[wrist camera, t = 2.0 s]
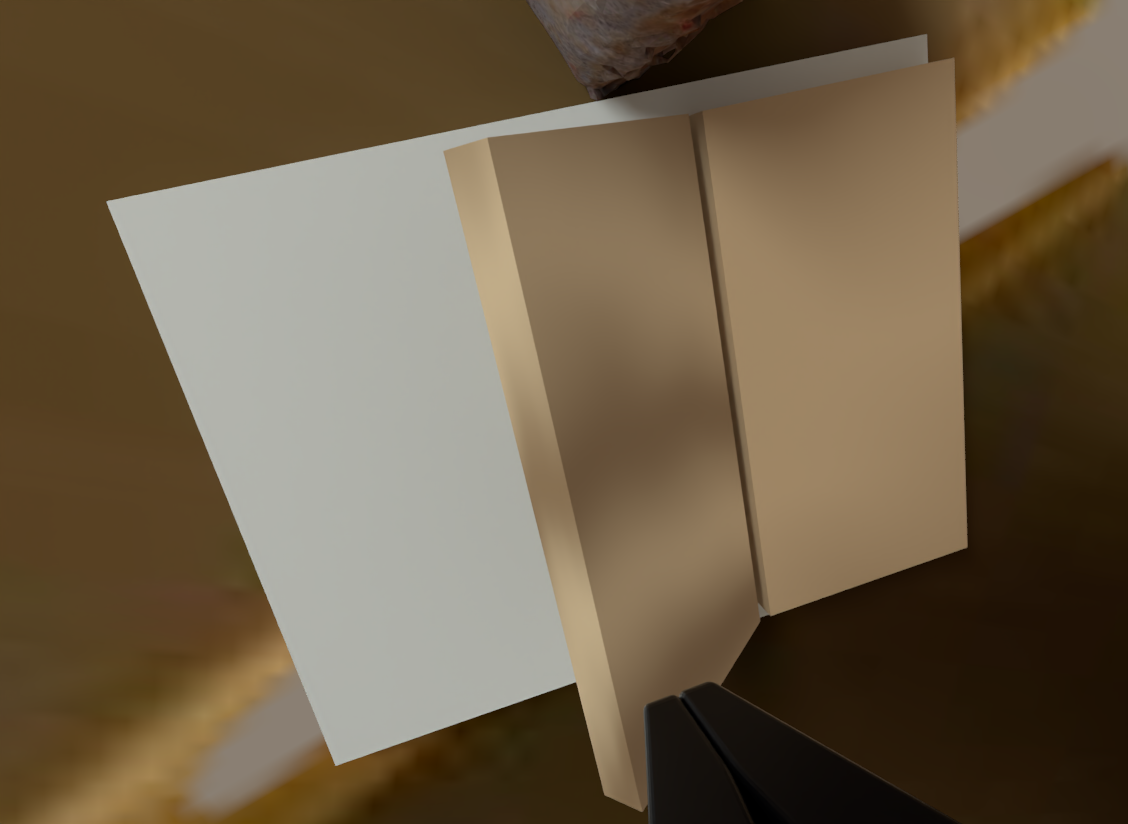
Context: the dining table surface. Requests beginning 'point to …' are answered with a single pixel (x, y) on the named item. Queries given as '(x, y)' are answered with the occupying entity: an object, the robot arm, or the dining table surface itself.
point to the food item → (622, 35)
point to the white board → (476, 399)
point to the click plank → (616, 409)
